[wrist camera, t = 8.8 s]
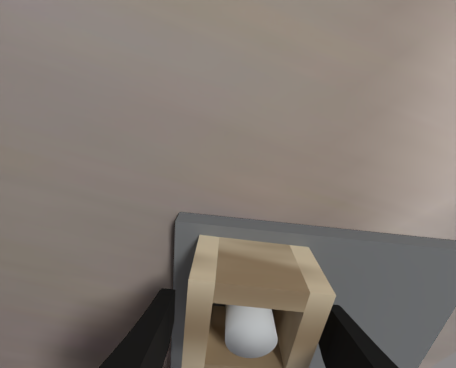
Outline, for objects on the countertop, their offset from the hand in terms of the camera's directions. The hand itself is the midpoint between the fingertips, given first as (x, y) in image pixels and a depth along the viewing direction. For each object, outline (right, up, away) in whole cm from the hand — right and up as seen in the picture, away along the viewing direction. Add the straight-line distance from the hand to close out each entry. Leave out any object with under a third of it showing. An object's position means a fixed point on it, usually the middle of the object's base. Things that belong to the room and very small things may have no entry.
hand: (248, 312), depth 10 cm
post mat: (+4, -3, +4) cm, 6 cm away
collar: (0, +1, +2) cm, 2 cm away
